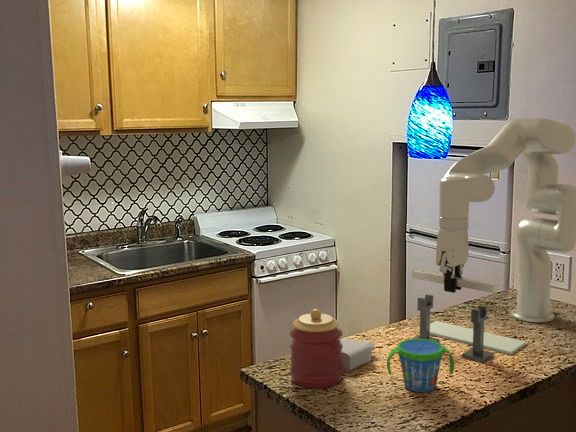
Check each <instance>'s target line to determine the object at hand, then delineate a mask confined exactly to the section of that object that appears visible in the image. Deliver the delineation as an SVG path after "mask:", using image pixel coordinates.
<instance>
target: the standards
mask: <svg viewBox="0 0 576 432" xmlns="http://www.w3.org/2000/svg"><path fill="white" fill-rule="evenodd" d="M433 308H434V295H432V294H425V295H424V297H418V298H417V309H416V310H417V311H419V312H420V313H419V329H420V332H419V335H417V336H415V337H413V338H412V339H428V340H433V341H436V342H438V343H440V338H438V337H432V336H431V335H430V324H431V309H433ZM487 319H488V306H486V305H482V304H479V305H477V308H471V309H470V323H473V324H472V325H473V345H472V347H471V348H470V349H467V350H466V351H464V352H462V354H461V358H463V359H467V360H471V361H474V362H478V363H482V364H484V363H486V362H487V361H489V360H490V359H492V358H493V357H494V355H495V354H494V353H495V352H492V351H488V350H484V348H483V342H484V332H485V321H486V320H487Z"/></svg>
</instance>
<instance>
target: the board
mask: <svg viewBox="0 0 576 432" xmlns="http://www.w3.org/2000/svg"><path fill="white" fill-rule="evenodd" d="M418 332H419V333H420V328H419V329H418ZM430 336H434V337H437V338H438V337H439V338H442V339H445V340H450V339H451V340H450V341H454V342H459V343H462V342H463V343H462V344H466V345H470V346H473V329H472V328H468V327H464V326H459V325H455V324H451V323H447V322H443V321H438V320H435V321H433V322H430ZM526 344H527V342H526V341H524V340H520V339H516V338H511V337H507V336H503V335H499V334H494V333H490V332H486V331H484V342H483V349H486V350H490V351H494V352H499V353H502V354H507V355H513V354H514V353H515V352H517V351H519V350H520V349H521V348H523V347H524V346H525V345H526Z"/></svg>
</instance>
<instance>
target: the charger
mask: <svg viewBox="0 0 576 432" xmlns="http://www.w3.org/2000/svg"><path fill="white" fill-rule="evenodd" d="M340 340H341V343H342V345H343V347H342V368H343V370H344V371H347V372H350V371H353V370H354V369H356V368H359V367H361V366H363V365H366V364H367V363H369V362H371V361H372V351H374V350H376V347H375V345H376V344H375V343H371V342H370V341H366V340H361V341H358V340H355V339H351V338H344V339H340Z"/></svg>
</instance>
